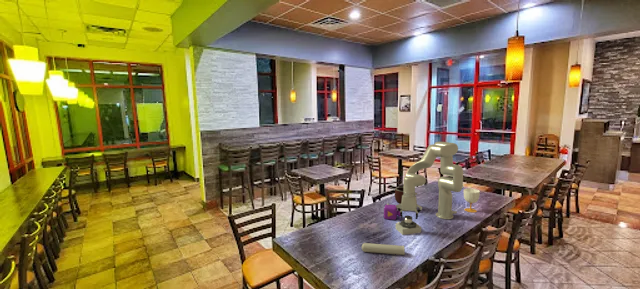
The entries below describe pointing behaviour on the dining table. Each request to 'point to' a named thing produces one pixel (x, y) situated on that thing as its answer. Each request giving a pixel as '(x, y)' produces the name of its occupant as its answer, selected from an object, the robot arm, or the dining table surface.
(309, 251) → the dining table surface
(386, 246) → the tube
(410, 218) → the lens
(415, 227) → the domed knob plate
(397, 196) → the mate gourd
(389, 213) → the toy camera
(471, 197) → the cup
